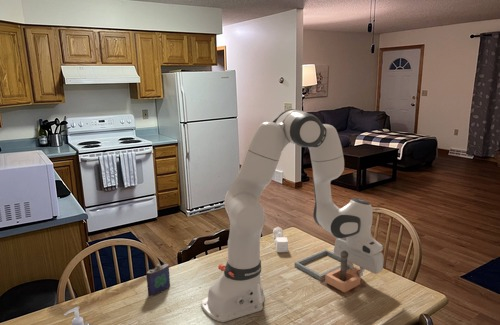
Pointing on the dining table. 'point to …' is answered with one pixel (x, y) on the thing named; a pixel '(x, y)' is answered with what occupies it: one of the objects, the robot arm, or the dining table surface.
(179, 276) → the dining table surface
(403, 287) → the dining table surface
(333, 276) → the ring
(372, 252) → the robot arm
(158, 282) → the flask
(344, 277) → the post
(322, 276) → the grey rectangular frame
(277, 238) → the container set
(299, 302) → the dining table surface
